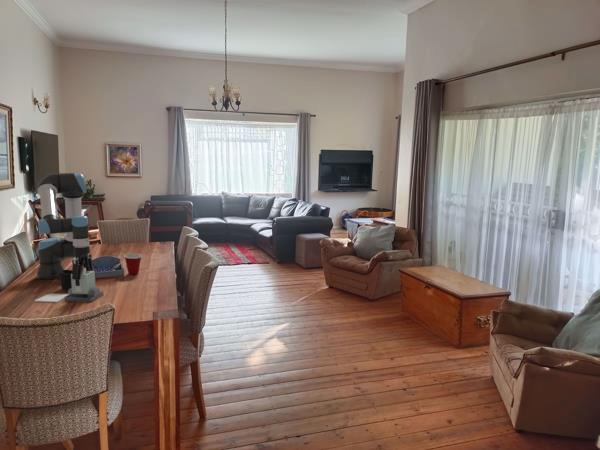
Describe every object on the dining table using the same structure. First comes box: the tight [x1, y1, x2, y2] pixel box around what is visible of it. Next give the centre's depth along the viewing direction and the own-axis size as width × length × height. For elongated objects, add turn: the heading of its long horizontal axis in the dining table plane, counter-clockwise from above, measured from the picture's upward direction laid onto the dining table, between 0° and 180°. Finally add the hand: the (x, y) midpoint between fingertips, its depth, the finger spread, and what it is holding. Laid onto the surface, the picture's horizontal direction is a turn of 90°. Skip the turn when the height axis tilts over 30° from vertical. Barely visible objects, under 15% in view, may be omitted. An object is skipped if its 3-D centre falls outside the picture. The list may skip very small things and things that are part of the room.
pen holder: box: [59, 269, 72, 291], centre depth 244 cm, size 9×9×10 cm
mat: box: [34, 293, 68, 304], centre depth 226 cm, size 12×12×1 cm
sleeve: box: [71, 270, 96, 294], centre depth 227 cm, size 8×8×10 cm
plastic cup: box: [123, 253, 143, 276], centre depth 276 cm, size 11×11×12 cm
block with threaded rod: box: [63, 266, 104, 303], centre depth 227 cm, size 14×12×16 cm
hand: (83, 289), depth 228 cm, fingers closed on sleeve, 8 cm apart
